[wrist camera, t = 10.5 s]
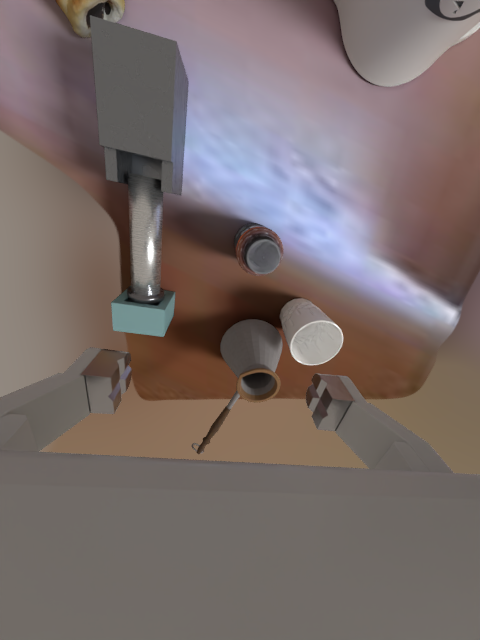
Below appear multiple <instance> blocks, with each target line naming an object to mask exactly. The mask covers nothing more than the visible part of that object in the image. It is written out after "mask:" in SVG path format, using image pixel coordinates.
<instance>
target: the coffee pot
mask: <svg viewBox="0 0 480 640" xmlns="http://www.w3.org/2000/svg"><path fill="white" fill-rule="evenodd" d="M220 345H221V354H222V357H223V359H224V360H225V362H226V363H227V364H228V366H229V367H230V368H231V370H232V371H233V372H234V373H235V375H236V376H237V377H238V381H237V391H236V393H235V394H234V396H233V397H232V399H231V400H230V402H229V404H228V405H227V406H226V407H225V409H224V410H223V412H222V413H221V414H220V415H219V417H218V418H217V419H216V421H215V422H214V423H213V425H212V426H211V428H210V430H209V432H208V434H207V436H206V437H204V438H203V443H202V444H201V445H198V444H196V443H193V444H192V448H193V449H194V450H195V451H196V452H197V453H198V454H200V453H203V452H204V448H205V446H206V445H207V444H209V443H210V439H211V438H212V437H213V436H214V434H215V433H216V432H217V431H218V430H219V428H220V426H221V425H222V423H223V421H224V420H225V418H226V416H227V415H228V413H229V411H230V410H231V408H232V406H233V405H234V403H235V402H236V401H237V399H238V398H239V396H241V397H242V398H243V399H245V400H247V401H250V402H263V401H267V400H269V399H271V398H272V397H274V396H275V395H276V394H277V393H278V391H279V389H280V384H281V383H280V379H279V377H278V375H277V374H276V373H275V370H276V367H277V364H278V361H279V358H280V355H281V352H282V345H283V344H282V338H281V336H280V334H279V332H278V330H277V329H276V328H275V327H274V326H272V325H271V324H269V323H267V322H265V321H262V320H258V319H248V320H243V321H240V322H238V323H236V324H234V325H233V326H232V327H231V328H229V329H228V330H227V331H226V333H225V334H224V336H223V338H222V341H221V344H220ZM193 445H198V446H199V448H198V450H196V449H195V448H194V447H193ZM202 451H203V452H202Z"/></svg>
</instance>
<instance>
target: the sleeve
mask: <svg viewBox="0 0 480 640" xmlns="http://www.w3.org/2000/svg"><path fill="white" fill-rule="evenodd" d="M90 24H91V38H92V51H93V65H94V78H95V91H96V105H97V118H98V132H99V145H101V146H103V147H104V152H105V167H106V180H110V181H115V182H120V183H125V184H128V173H133V174H138V175H143V176H147V177H151V178H155V179H159V180H161V191H162V192H167V193H171V194H177V195H181V192H182V176H183V160H184V145H185V129H186V113H187V97H188V78H187V75H186V72H185V68H184V65H183V62H182V58H181V55H180V52H179V48H178V45H177V42H176V41H173V40H170V39H167V38H163V37H160V36H157V35H153V34H150V33H147V32H144V31H140V30H137V29H134V28H130V27H127V26H124V25H121V24H117V23H114V22H111V21H108V20H104V19H101V18H98V17H94V16H91V15H90Z"/></svg>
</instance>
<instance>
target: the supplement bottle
mask: <svg viewBox="0 0 480 640" xmlns="http://www.w3.org/2000/svg"><path fill="white" fill-rule="evenodd" d="M234 248H235V253H236V257H237V260H238V262H239V265H240V266H241V267H242V268H243V270H245V271H246V272H247V273H249V274H251V275H256V276H263V275H266V274H269V273H271V272H272V271H274V270H275V269H276V268H277V267H278V265H279V264H280V262H281V260H282V256H283V245H282V242H281V240H280V238H279V237H278V235H277V234H276V233H275V232H273V231H272V230H270V229H268V228H266V227H264V226H262V225H260V224H256V223H251V224H247V225H245V226H243V227H242V228H240V229H239V231H238V232H237V234H236V236H235V240H234Z"/></svg>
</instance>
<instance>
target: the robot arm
mask: <svg viewBox="0 0 480 640" xmlns="http://www.w3.org/2000/svg"><path fill="white" fill-rule="evenodd" d="M334 2H335V4H336V6H337V9H338V12H339V18H340V25H341V33H342V38H343V43H344V46H345V49H346V52H347V55H348V57H349V59H350V61H351V63H352V65H353V66H354V68H355V69H356V71H357V72H358V73H359V74H360V75H361V76H362V77H363V78H364V79H366V80H367V81H369V82H371V83H373V84H375V85H379V86H385V87H390V86H398V85H401V84H404V83H407V82H409V81H411V80H413V79H415V78H416V77H418V76H419V75H421V74H422V73H423V72H424V71H426V70H427V69H428V68H429V67H430V66H431V65H432V64H433V63H434V62H435V61H436V60H437V59H438V58H439V57H440V56H441V55H442V54H443V53H444V52H445V51H446V50H447V49H449V48H450V47H451V46H454V45H456V44H458V43H460V42H462V41H463V40H465V39H467V38H468V37H469V36H471V35H472V34H473V33H474V32H476V31H477V30H478V29H479V28H480V0H334ZM130 361H131V354H130V353H129V352H123V351H115V350H108V349H99V348H88V349H86V350H85V352H83V354H82V355H81V356H80V357H79V358H78V359H77V360H76V361H75V362H74V363H73V364H72V365H71V366H70V367H69V368H68V369H67V370H66V371H65V372H64V373H63V374H62V373H58V374H56V375H53V376H51V377H49V378H46V379H44V380H41V381H39V382H37V383H34V384H32V385H29V386H27V387H24V388H22V389H19V390H17V391H15V392H12V393H10V394H8V395H5V396H3V397H0V640H480V475H477V474H458V473H453V471H452V470H451V469H450V468H449V467H448V466H447V464H446V463H445V462H444V461H443V460H442V458H441V457H440V456H439V455H438V454H437V453H436V451H435V450H434V449H433V448H432V447H431V446H430V445H429V443H427V442H426V441H424V440H423V439H422V438H420V437H419V436H417V435H416V434H414V433H413V432H411V431H410V430H408V429H407V428H406V427H404V426H403V425H401V424H400V423H398V422H397V421H395V420H394V419H392V418H391V417H390V416H388V415H387V414H385V413H384V412H382V411H381V410H379V409H378V408H377V407H375V406H374V405H372V404H371V403H367V402H366V401H365V399H364V398H363V396H362V395H361V394H360V392H359V391H358V390H357V388H356V387H355V385H354V384H353V383H352V381H351V380H350V378H348V377H347V376H338V375H336V376H334V375H325V374H315V375H314V376H313V378H312V383H313V384H312V385H311V386H309V387H308V389H307V392H306V403H307V406H308V408H309V409H310V410H311V411H312V412H313V415H312V418H313V420H314V423H315V425H316V428H317V429H318V430H328V431H336V433H337V435H338V436H339V437H340V438H341V439H342V440H343V441H344V442H345V443H346V444H347V445H348V446H349V447H350V448H351V449H352V451H353V452H354V453H355V454H356V455H357V456H358V457H359V458H360V459H361V460H362V461H363V462H364V463H365V464H366V465H367V466H368V467H369V469H361V468H342V467H323V466H304V465H284V464H265V463H264V464H263V463H245V462H226V461H207V460H188V459H187V460H186V459H168V458H149V457H129V456H110V455H91V454H71V453H70V454H69V453H51V452H39V451H40V450H42V449H43V448H44V447H46V446H47V445H48V444H50V443H51V442H53V441H54V440H55V439H57V438H58V437H59V436H61V435H62V434H63V433H65V432H66V431H67V430H68V429H70V428H72V427H73V426H74V425H76V424H77V423H78V422H80V421H81V420H82V419H84V418H85V417H87V416H88V415H89V414H90V413H107V414H114V413H115V411H116V409H117V408H118V406H119V404H120V402H121V394H123V393H125V392H126V391H127V389H128V387H129V384H130V380H131V368H130V367H129V366H128V365H129V363H130Z"/></svg>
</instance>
